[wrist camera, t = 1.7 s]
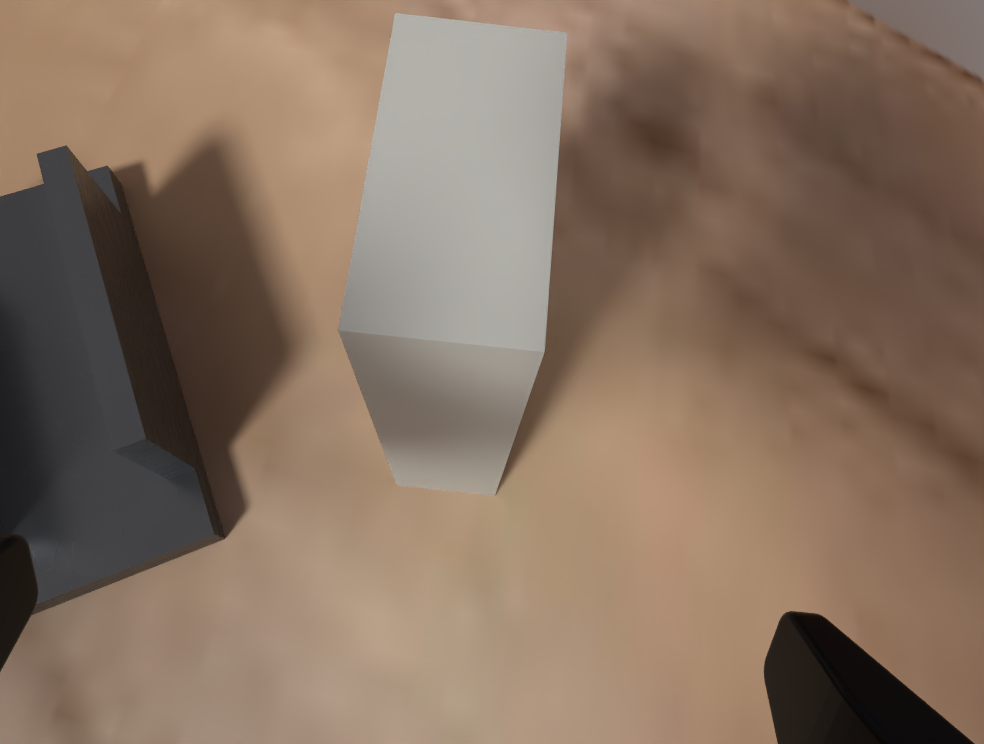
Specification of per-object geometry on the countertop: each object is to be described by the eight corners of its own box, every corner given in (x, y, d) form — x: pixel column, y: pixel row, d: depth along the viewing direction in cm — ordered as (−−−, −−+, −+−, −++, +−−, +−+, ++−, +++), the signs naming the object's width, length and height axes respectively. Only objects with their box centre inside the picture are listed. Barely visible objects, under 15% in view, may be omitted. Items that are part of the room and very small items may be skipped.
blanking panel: (494, 495, 22) (544, 352, 10) (396, 485, 22) (338, 330, 10) (511, 316, 24) (567, 33, 12) (421, 306, 24) (395, 13, 12)
